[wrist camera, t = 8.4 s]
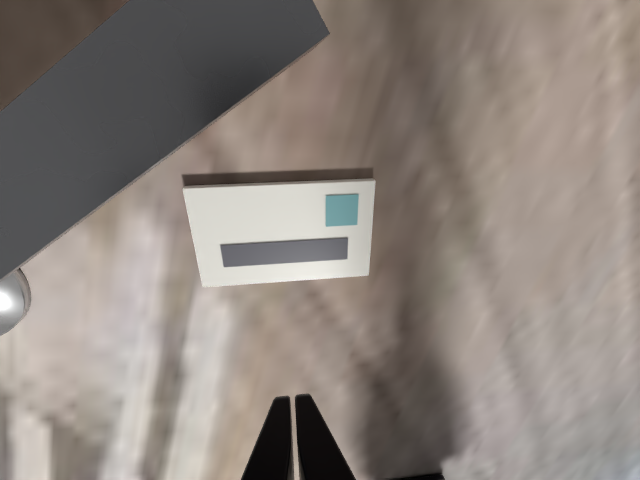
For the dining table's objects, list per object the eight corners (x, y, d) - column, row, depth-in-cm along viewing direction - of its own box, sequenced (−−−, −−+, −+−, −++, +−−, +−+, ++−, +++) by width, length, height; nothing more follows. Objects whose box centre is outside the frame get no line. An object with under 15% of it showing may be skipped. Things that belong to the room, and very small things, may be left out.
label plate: (373, 178, 18) (375, 181, 17) (366, 271, 20) (368, 276, 20) (184, 185, 17) (182, 189, 16) (204, 282, 19) (202, 288, 19)
